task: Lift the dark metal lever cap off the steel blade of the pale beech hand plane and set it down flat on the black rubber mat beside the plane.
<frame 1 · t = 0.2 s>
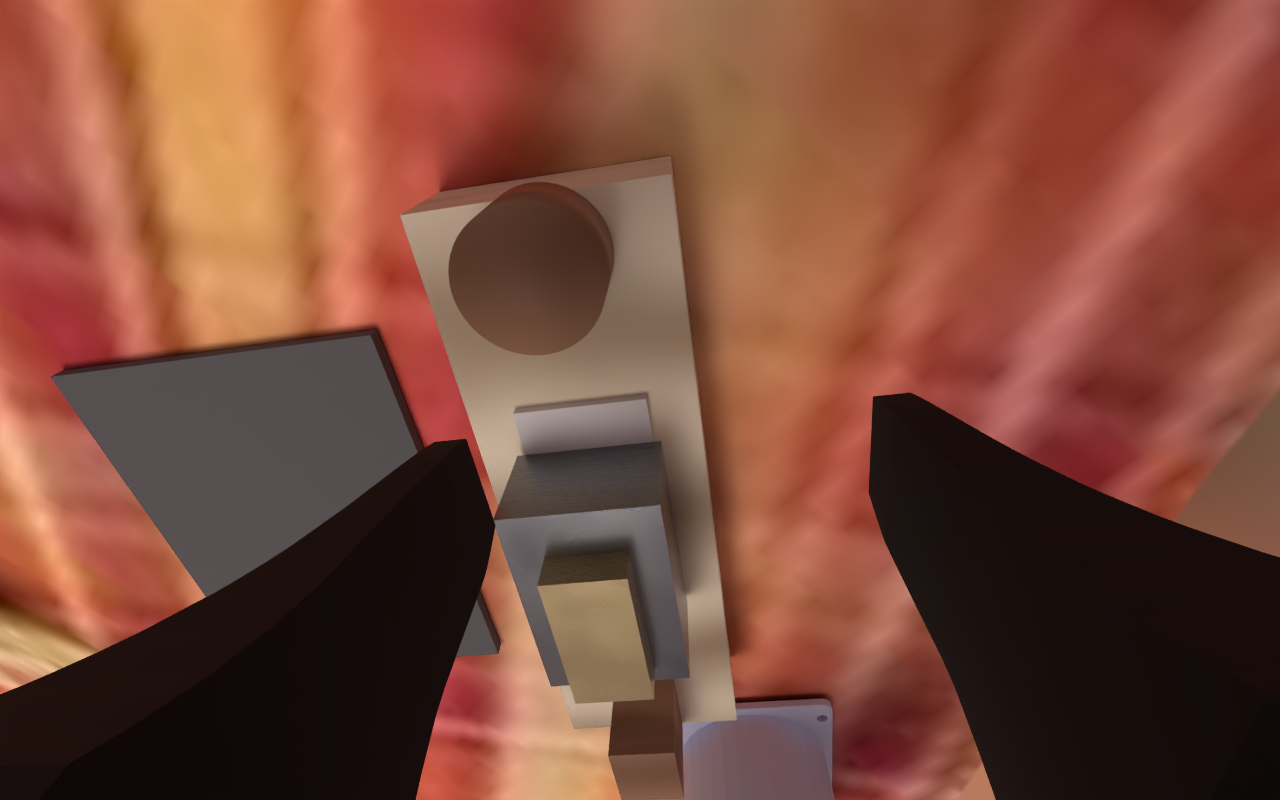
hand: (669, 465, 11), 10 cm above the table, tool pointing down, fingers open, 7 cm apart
rubber mat: (310, 525, 25), on the table
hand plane: (615, 475, 23), on the table
lever cap: (608, 534, 20), point 3 cm above the table, touching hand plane
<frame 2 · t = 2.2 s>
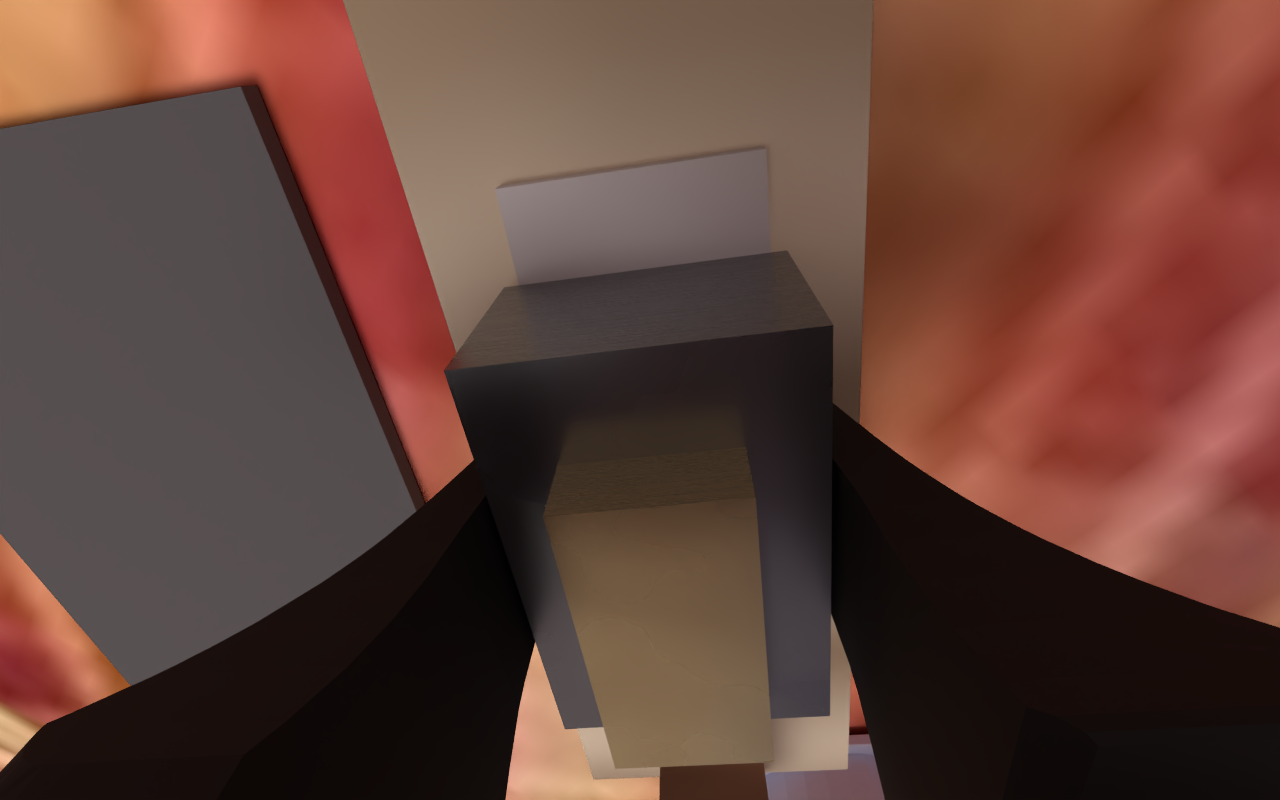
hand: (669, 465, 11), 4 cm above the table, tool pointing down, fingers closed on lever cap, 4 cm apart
rubber mat: (183, 460, 16), on the table
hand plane: (669, 372, 14), on the table
lever cap: (669, 452, 11), point 3 cm above the table, touching gripper, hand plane
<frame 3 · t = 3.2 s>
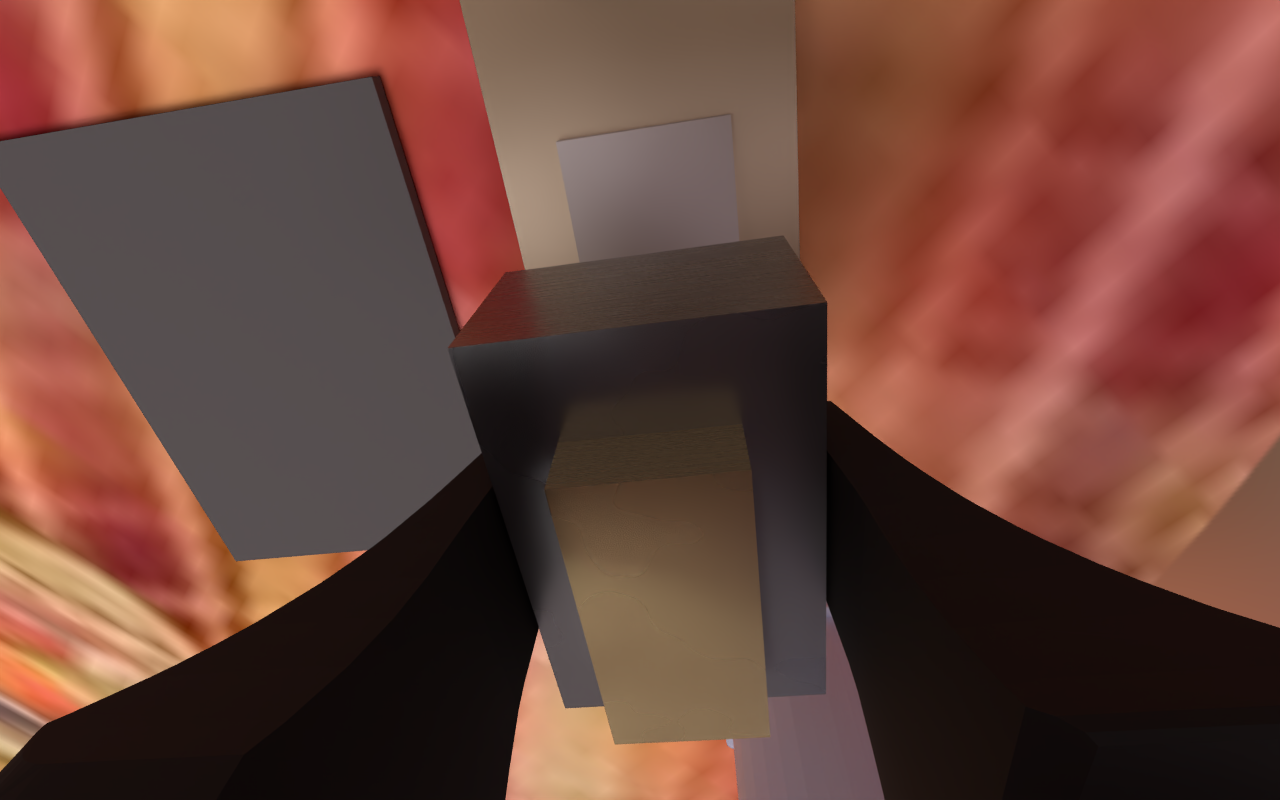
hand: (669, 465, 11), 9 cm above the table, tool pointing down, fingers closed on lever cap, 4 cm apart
rubber mat: (296, 365, 21), on the table
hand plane: (668, 290, 19), on the table
lever cap: (667, 437, 11), point 9 cm above the table, touching gripper
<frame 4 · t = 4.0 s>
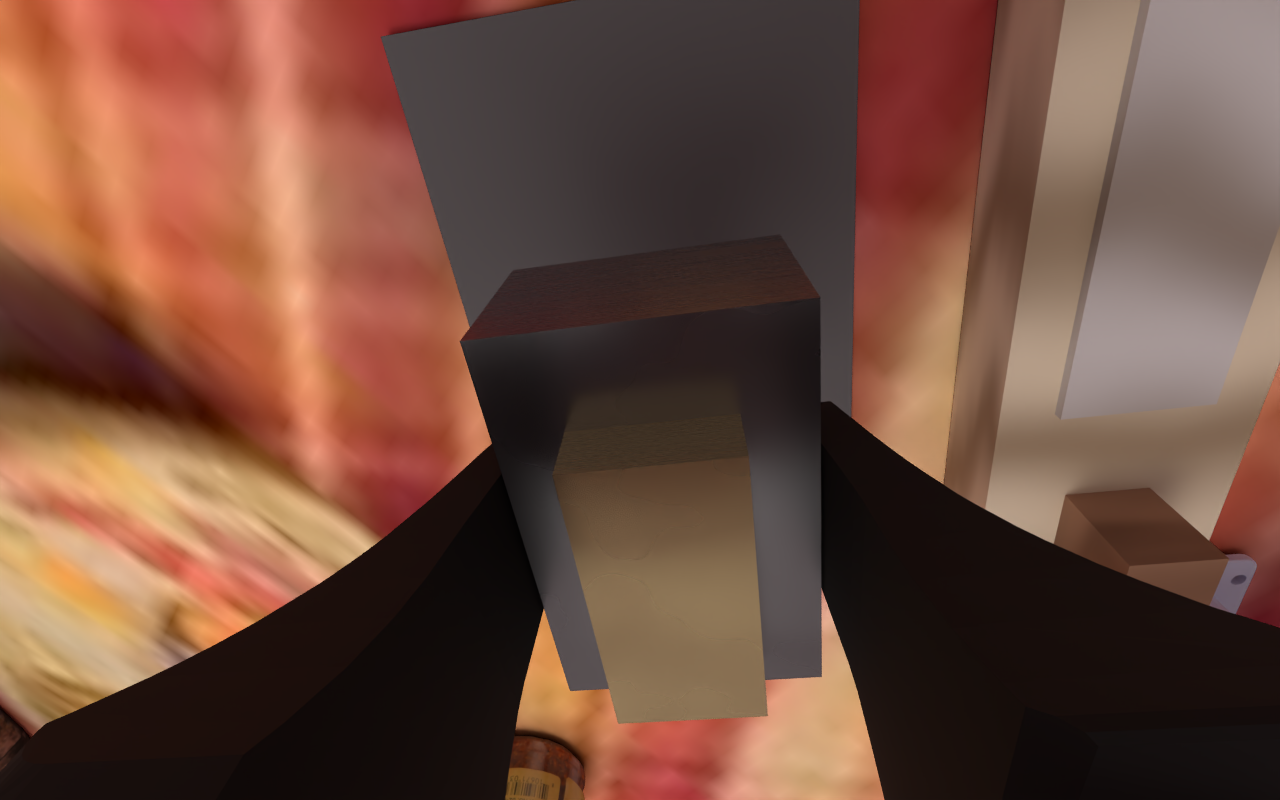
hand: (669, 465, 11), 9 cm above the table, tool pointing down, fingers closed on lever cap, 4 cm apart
rubber mat: (655, 295, 19), on the table
sauce bottle: (534, 761, 32), on the table
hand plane: (1102, 203, 17), on the table
lever cap: (669, 429, 12), point 8 cm above the table, touching gripper
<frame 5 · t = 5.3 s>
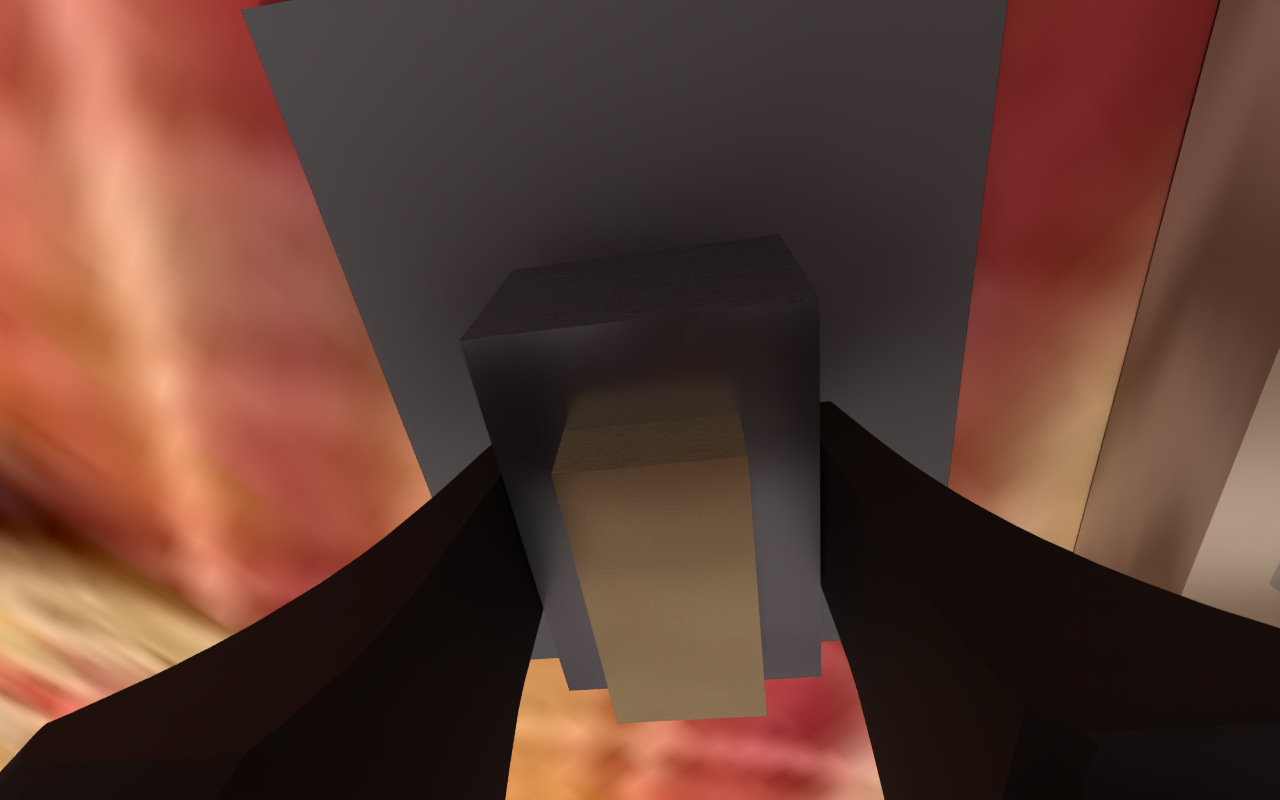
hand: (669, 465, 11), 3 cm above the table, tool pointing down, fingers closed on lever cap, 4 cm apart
rubber mat: (669, 387, 13), on the table
lever cap: (668, 429, 12), point 2 cm above the table, touching gripper
when the fingers open (3 cm above the table, at t = 6.2 s): lever cap drops 1 cm, resting on rubber mat.
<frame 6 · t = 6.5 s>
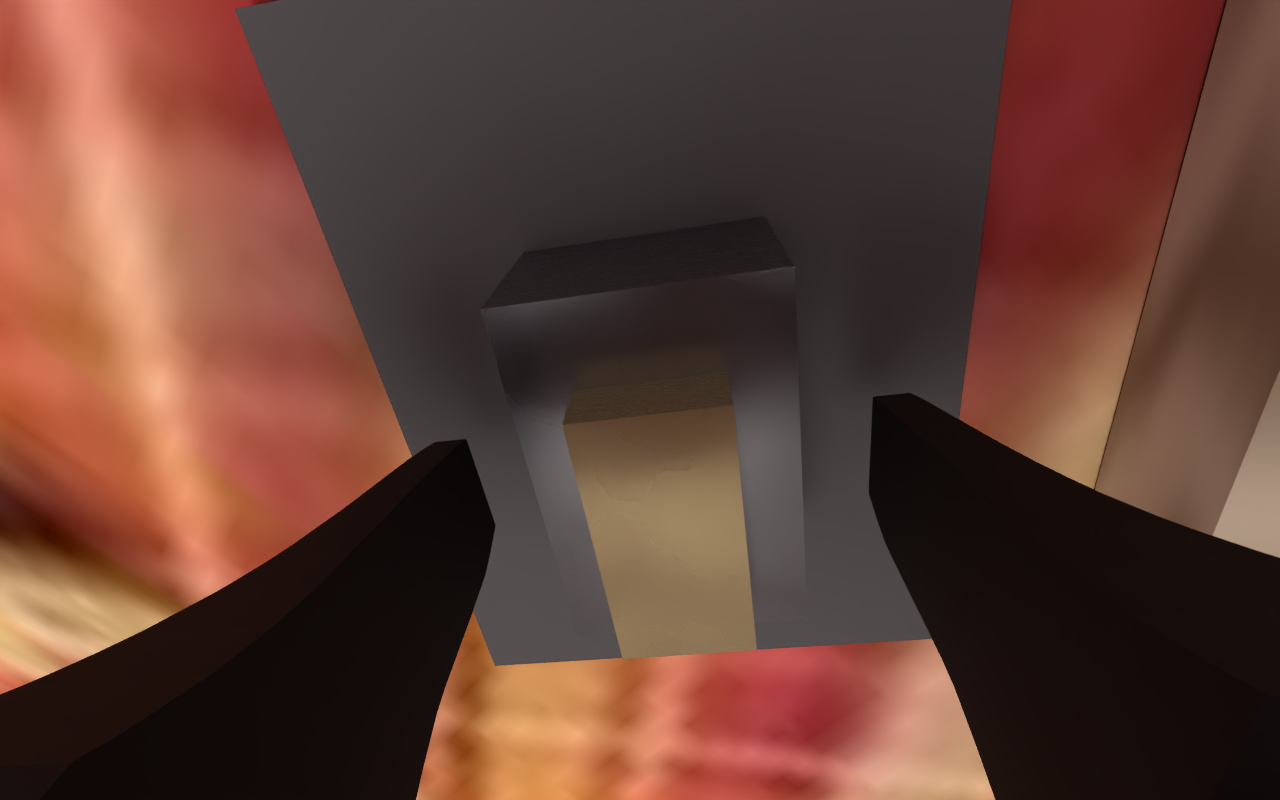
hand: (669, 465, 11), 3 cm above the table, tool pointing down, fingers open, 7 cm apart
rubber mat: (669, 390, 13), on the table
lever cap: (666, 399, 13), resting on rubber mat
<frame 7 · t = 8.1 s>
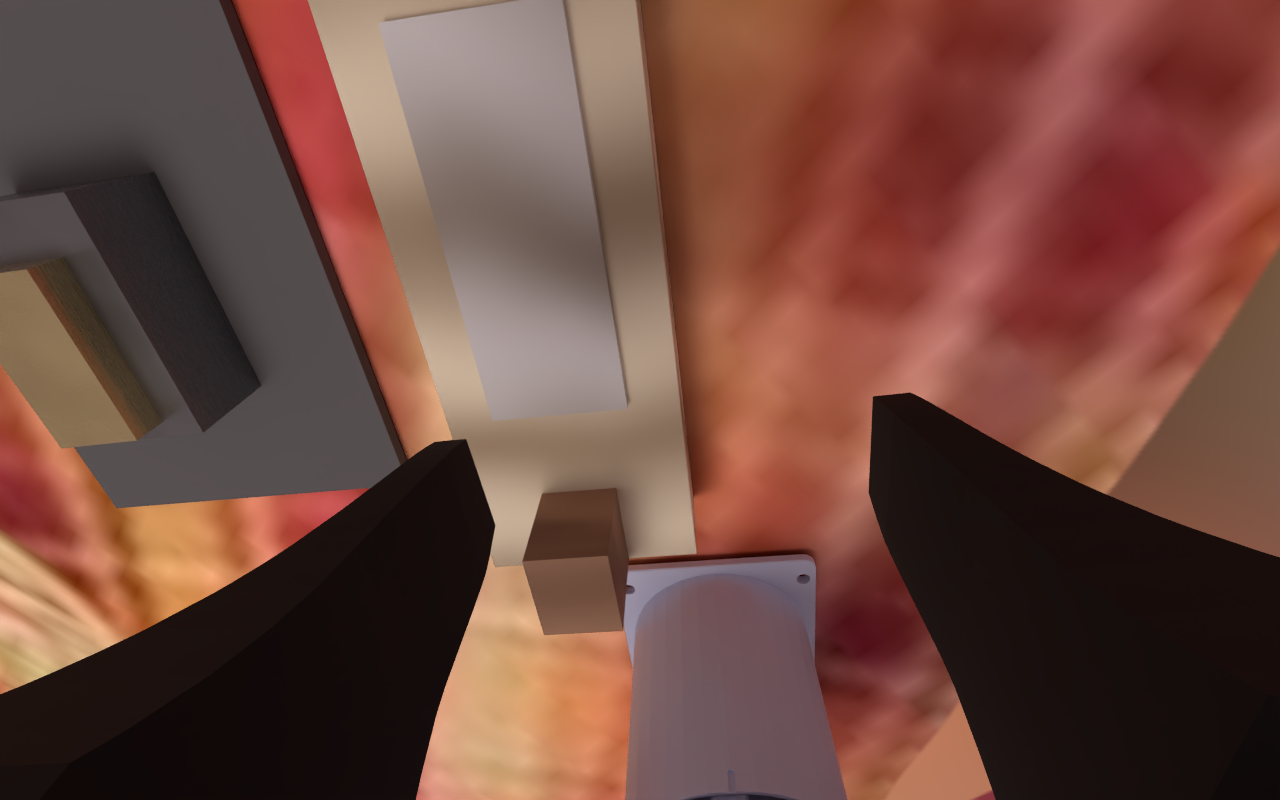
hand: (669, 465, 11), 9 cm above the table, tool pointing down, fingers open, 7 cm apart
rubber mat: (162, 293, 20), on the table
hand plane: (544, 214, 18), on the table
lever cap: (148, 296, 19), resting on rubber mat
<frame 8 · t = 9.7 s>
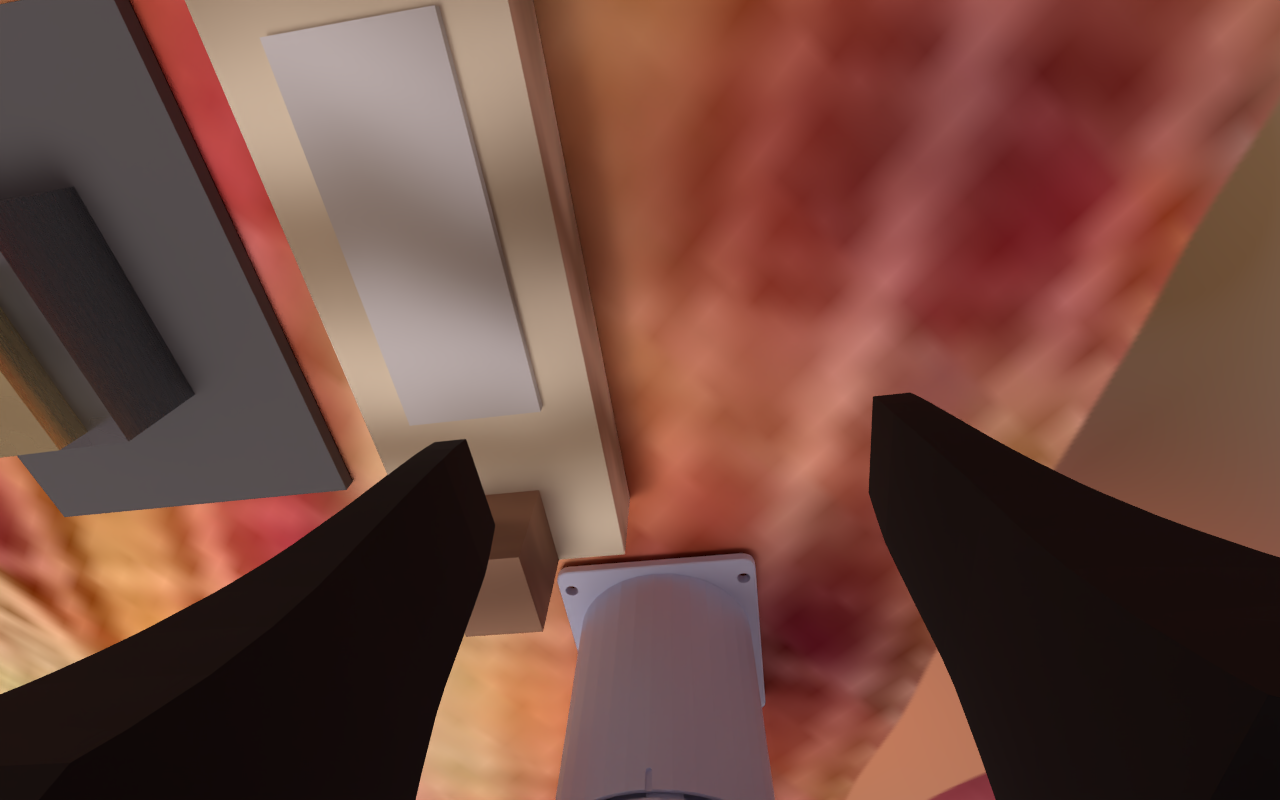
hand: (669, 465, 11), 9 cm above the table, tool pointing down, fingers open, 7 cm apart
rubber mat: (93, 305, 20), on the table
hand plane: (459, 220, 18), on the table
lever cap: (78, 308, 20), resting on rubber mat
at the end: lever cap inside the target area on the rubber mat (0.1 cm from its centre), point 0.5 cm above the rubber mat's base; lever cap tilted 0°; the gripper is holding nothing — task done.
